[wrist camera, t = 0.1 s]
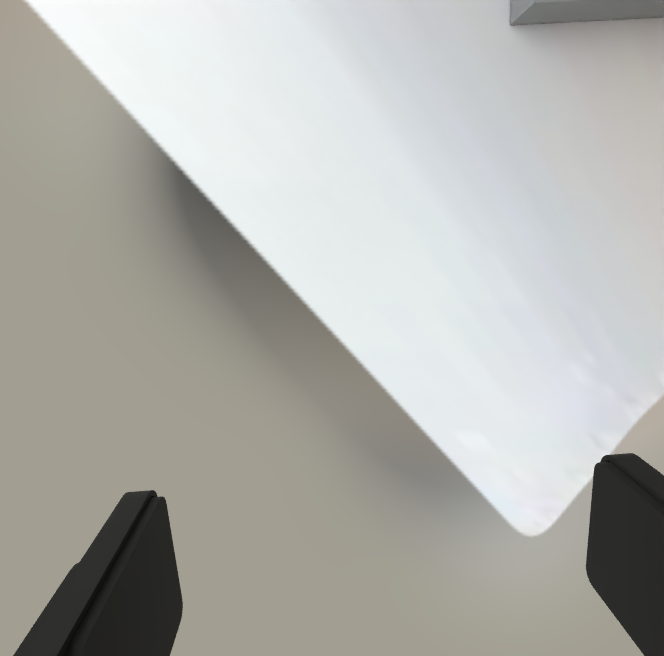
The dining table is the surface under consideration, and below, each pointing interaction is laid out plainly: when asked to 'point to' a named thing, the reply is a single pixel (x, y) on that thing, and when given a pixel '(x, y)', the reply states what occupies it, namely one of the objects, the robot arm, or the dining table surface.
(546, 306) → the dining table surface
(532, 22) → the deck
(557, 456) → the dining table surface
